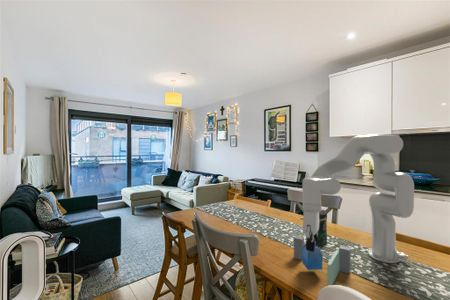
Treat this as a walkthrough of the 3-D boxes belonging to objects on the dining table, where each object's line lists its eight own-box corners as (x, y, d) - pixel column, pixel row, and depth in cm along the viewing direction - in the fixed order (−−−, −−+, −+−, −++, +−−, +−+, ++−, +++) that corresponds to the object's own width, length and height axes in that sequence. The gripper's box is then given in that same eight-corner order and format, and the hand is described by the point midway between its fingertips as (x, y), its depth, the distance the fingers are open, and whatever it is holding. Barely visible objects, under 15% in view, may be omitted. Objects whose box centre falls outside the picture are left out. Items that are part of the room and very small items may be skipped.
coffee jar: (321, 247, 119) (321, 213, 119) (308, 242, 125) (307, 210, 125) (329, 242, 126) (329, 209, 125) (315, 238, 131) (315, 207, 131)
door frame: (350, 270, 96) (350, 247, 96) (349, 273, 94) (349, 250, 94) (295, 255, 110) (295, 235, 110) (294, 257, 108) (293, 237, 108)
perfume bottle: (302, 262, 98) (302, 235, 98) (315, 261, 99) (315, 235, 98) (307, 269, 92) (307, 241, 92) (322, 269, 92) (322, 241, 92)
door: (336, 270, 96) (336, 249, 96) (339, 271, 95) (339, 250, 95) (327, 287, 84) (327, 264, 84) (330, 288, 84) (330, 265, 84)
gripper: (308, 201, 104) (308, 239, 104) (296, 209, 90) (297, 253, 90) (325, 203, 100) (325, 242, 100) (316, 212, 86) (316, 258, 86)
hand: (312, 247), depth 95 cm, fingers closed on perfume bottle, 5 cm apart
